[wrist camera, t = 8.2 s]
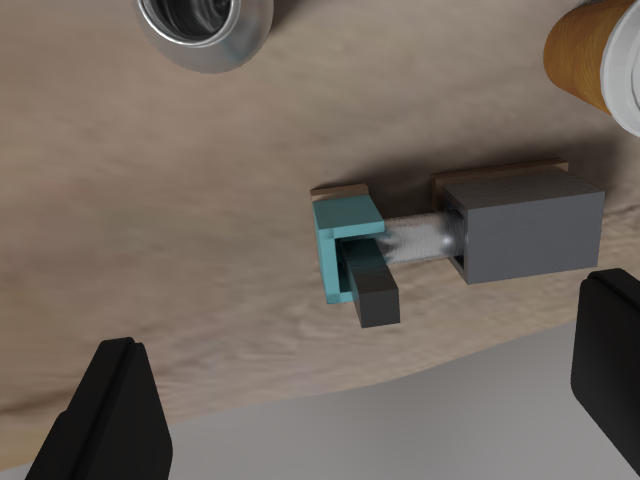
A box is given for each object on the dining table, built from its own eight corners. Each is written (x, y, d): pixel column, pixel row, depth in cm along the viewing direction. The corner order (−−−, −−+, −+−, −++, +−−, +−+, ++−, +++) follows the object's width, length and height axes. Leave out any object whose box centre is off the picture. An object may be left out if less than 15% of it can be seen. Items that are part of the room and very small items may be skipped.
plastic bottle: (227, -71, 36) (184, -164, 17) (290, 14, 38) (312, 13, 20) (157, -7, 37) (48, -30, 18) (223, 72, 39) (184, 122, 21)
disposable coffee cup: (642, 93, 43) (772, 120, 32) (528, 125, 43) (618, 163, 32) (641, -35, 39) (788, -54, 28) (516, 1, 39) (613, -5, 28)
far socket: (365, 183, 44) (383, 214, 37) (371, 259, 46) (389, 301, 39) (310, 190, 43) (317, 223, 36) (319, 266, 46) (328, 310, 39)
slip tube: (478, 199, 42) (546, 259, 32) (477, 240, 44) (543, 310, 33) (335, 218, 42) (358, 285, 31) (339, 259, 43) (362, 336, 33)
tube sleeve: (559, 157, 44) (613, 183, 37) (553, 234, 47) (602, 271, 40) (430, 174, 44) (460, 204, 37) (432, 250, 47) (461, 291, 40)
